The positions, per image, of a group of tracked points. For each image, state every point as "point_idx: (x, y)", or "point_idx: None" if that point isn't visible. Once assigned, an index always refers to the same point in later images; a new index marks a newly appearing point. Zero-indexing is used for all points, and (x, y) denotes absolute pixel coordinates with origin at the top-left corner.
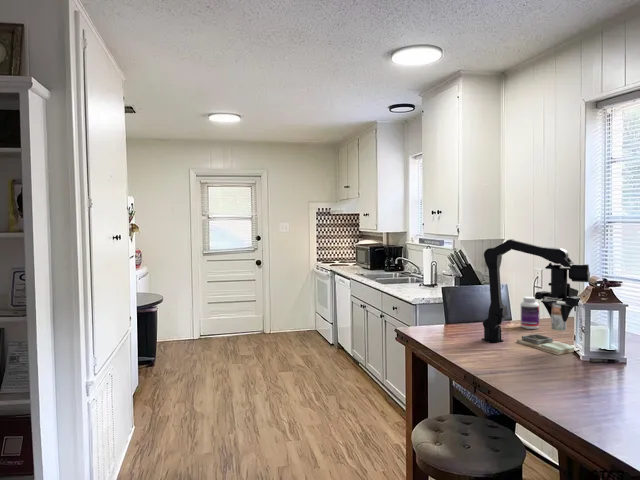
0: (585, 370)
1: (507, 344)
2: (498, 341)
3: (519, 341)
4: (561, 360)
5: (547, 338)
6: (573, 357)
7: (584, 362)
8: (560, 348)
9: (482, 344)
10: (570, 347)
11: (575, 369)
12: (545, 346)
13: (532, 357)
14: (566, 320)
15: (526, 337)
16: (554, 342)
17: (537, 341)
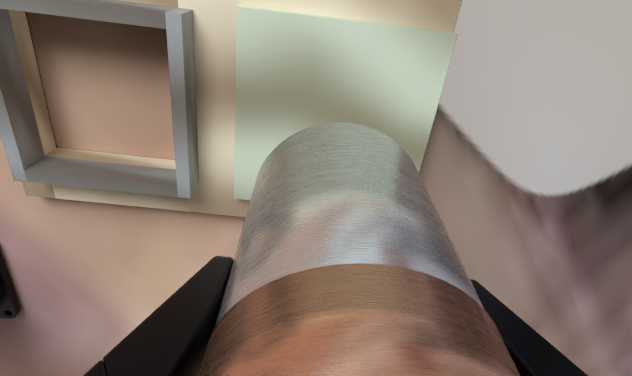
0: (615, 327)
1: (71, 266)
2: (6, 278)
3: (57, 194)
4: None
5: (132, 22)
6: (490, 195)
7: (577, 231)
8: None
9: (30, 354)
10: (421, 95)
11: (571, 344)
12: None
13: None
14: (483, 292)
15: (67, 185)
16: (243, 58)
17: (187, 193)
